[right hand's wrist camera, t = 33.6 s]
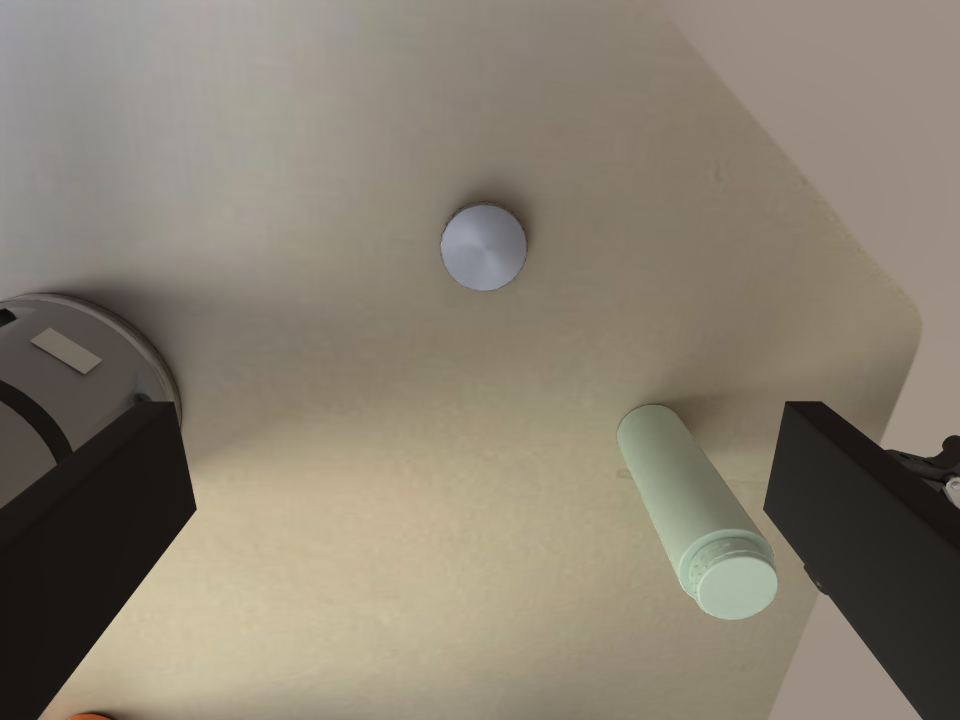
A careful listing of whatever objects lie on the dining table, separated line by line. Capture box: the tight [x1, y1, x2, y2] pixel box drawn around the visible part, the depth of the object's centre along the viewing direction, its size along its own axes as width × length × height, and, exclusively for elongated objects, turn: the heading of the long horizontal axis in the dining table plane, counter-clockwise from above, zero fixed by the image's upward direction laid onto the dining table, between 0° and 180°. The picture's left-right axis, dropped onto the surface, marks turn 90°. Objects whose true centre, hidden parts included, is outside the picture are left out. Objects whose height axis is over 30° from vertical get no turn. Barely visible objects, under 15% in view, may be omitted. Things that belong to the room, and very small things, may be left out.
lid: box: [440, 201, 528, 291], centre depth 37 cm, size 6×6×2 cm
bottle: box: [617, 405, 778, 620], centre depth 35 cm, size 5×5×16 cm
